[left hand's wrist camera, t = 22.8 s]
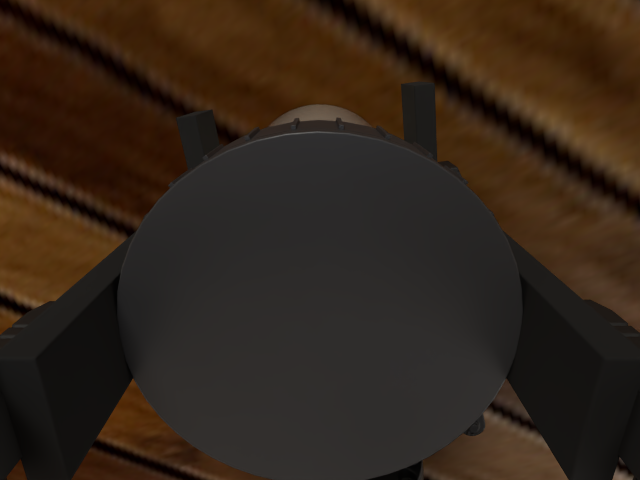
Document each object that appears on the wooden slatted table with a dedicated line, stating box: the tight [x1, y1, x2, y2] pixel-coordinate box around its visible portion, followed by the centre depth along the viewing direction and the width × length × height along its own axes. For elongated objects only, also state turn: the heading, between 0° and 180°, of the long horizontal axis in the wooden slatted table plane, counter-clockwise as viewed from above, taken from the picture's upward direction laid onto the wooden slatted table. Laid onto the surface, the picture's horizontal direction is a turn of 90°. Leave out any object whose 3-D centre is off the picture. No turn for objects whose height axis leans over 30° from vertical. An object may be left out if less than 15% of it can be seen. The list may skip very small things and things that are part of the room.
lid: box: [117, 118, 523, 480], centre depth 11 cm, size 9×9×2 cm
